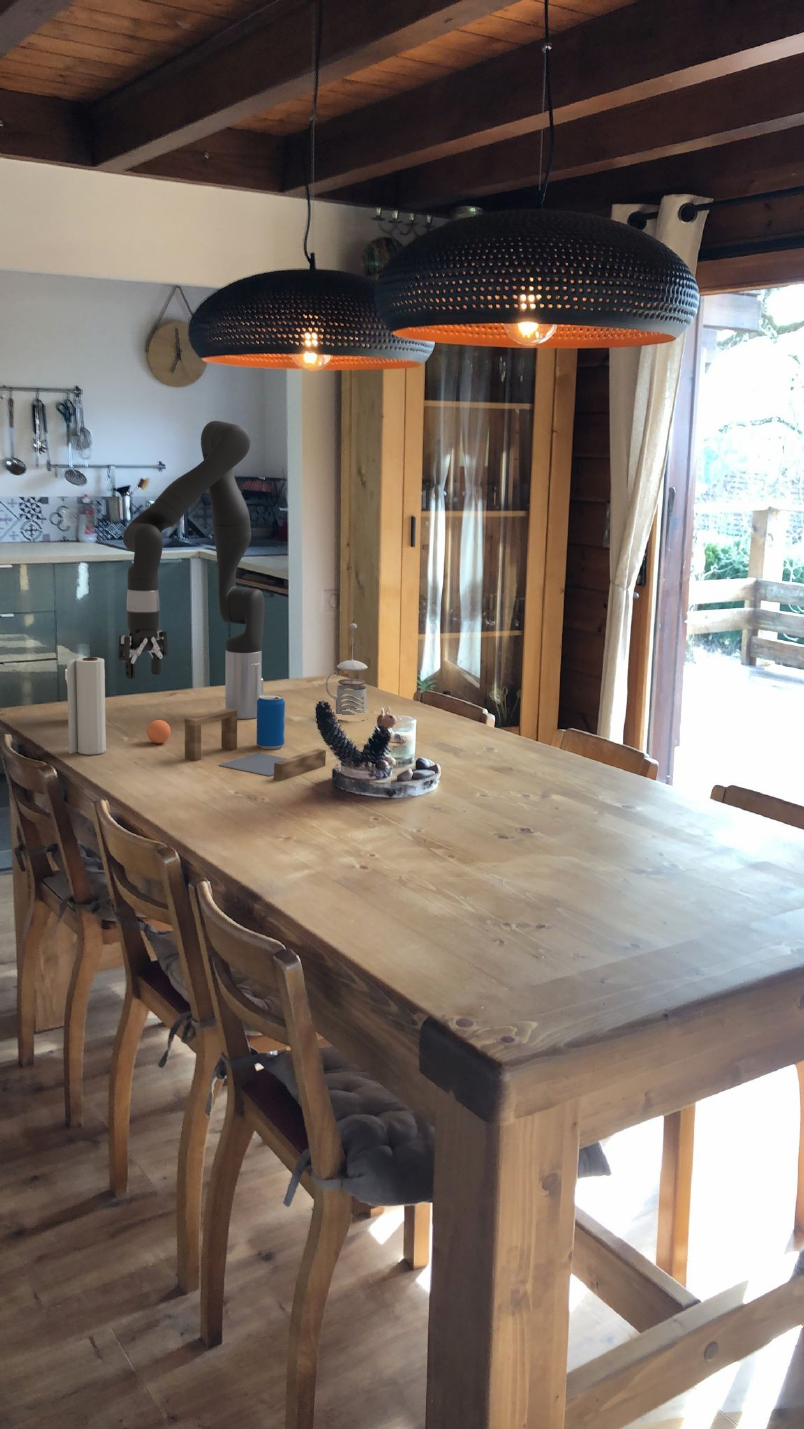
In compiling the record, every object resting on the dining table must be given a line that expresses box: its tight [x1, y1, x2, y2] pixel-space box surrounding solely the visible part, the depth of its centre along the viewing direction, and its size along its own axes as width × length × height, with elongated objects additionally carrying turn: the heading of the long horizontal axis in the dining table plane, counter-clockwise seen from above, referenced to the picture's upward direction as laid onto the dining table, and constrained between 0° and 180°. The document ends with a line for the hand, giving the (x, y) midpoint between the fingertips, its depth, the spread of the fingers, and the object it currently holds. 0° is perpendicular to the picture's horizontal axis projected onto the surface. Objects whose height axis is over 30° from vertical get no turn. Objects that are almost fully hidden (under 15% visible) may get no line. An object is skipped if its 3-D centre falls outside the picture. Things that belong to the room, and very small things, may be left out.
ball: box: [146, 719, 172, 744], centre depth 279 cm, size 6×6×6 cm
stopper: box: [273, 748, 327, 781], centre depth 258 cm, size 16×2×4 cm, turn 148°
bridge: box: [184, 708, 238, 762], centre depth 270 cm, size 3×14×9 cm, turn 148°
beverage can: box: [256, 693, 286, 750], centre depth 279 cm, size 6×6×12 cm
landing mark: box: [218, 752, 288, 777], centre depth 264 cm, size 14×14×1 cm
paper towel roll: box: [66, 656, 107, 756], centre depth 267 cm, size 7×6×21 cm
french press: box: [325, 623, 369, 715], centre depth 311 cm, size 10×12×25 cm
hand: (143, 676), depth 285 cm, fingers open, 8 cm apart
